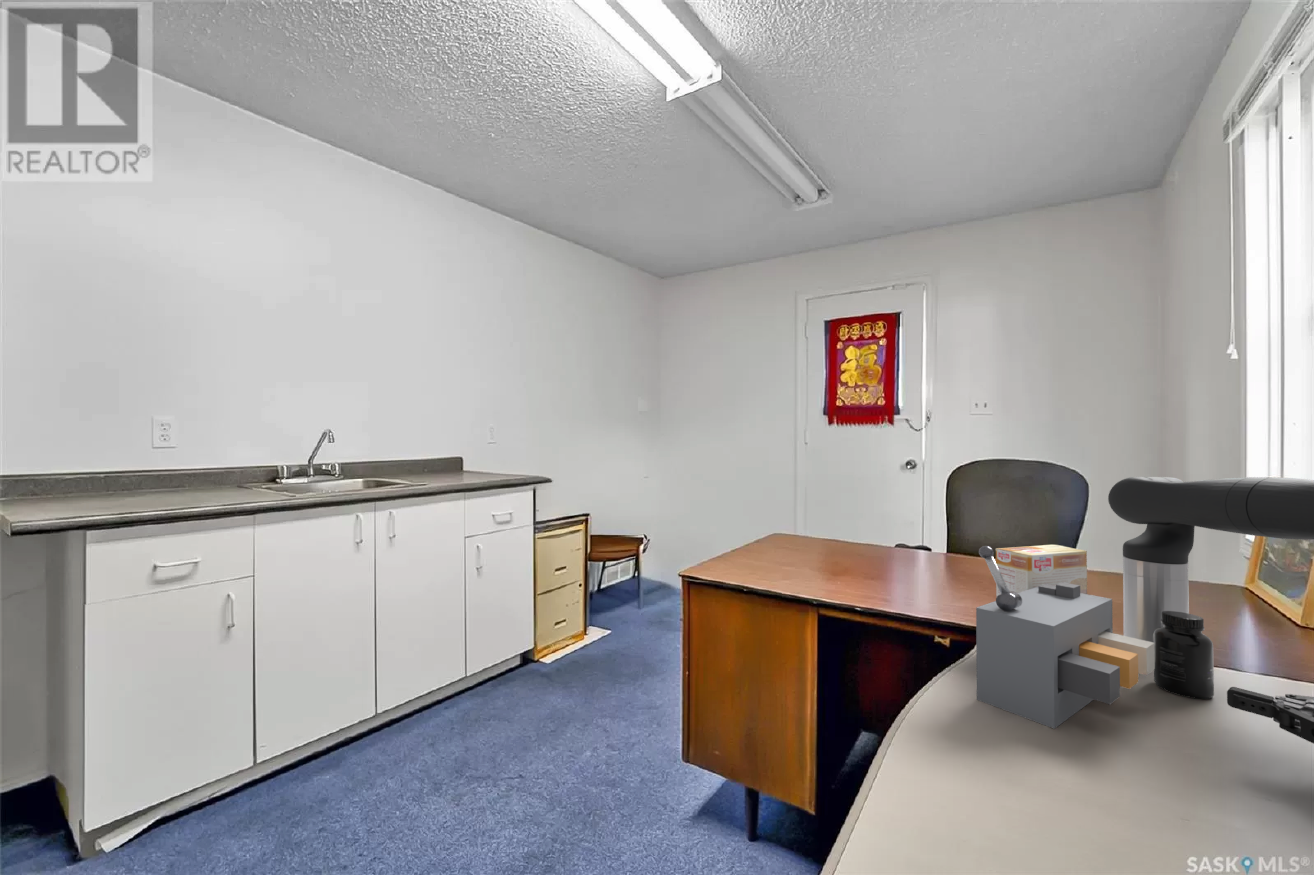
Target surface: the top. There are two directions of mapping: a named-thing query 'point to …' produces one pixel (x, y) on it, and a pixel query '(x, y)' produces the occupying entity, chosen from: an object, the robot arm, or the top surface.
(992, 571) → the toggle lever
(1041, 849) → the top surface
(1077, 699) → the grey dispenser housing
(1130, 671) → the orange button
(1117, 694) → the black button
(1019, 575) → the coffeecake box
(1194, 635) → the supplement bottle
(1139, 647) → the cream button
